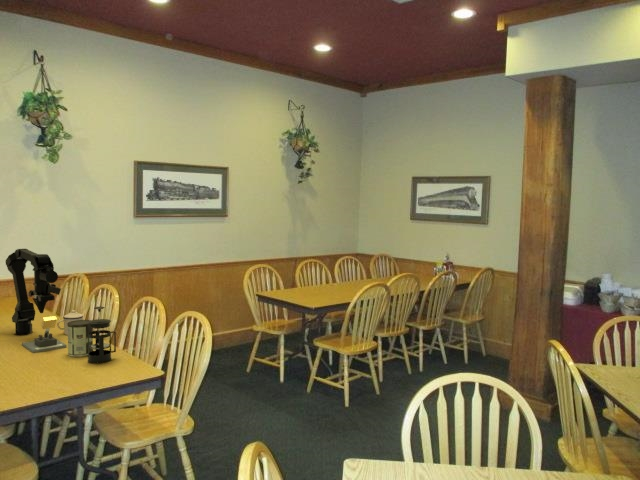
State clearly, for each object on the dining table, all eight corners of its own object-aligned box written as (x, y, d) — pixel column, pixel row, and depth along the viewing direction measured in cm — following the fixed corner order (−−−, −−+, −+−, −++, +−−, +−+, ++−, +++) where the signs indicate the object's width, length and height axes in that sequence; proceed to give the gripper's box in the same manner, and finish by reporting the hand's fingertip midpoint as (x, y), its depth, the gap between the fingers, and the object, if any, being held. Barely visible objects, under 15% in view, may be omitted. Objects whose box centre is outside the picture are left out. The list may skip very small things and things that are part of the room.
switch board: (22, 345, 246) (21, 332, 245) (54, 340, 256) (54, 328, 255) (33, 353, 234) (33, 339, 234) (66, 347, 244) (66, 334, 244)
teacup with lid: (82, 330, 276) (81, 308, 275) (84, 334, 268) (84, 311, 267) (56, 332, 270) (56, 310, 269) (58, 337, 262) (57, 313, 261)
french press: (87, 365, 220) (87, 310, 218) (84, 359, 227) (83, 306, 226) (117, 361, 226) (117, 307, 224) (113, 355, 234) (113, 303, 232)
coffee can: (87, 349, 243) (86, 318, 242) (97, 353, 236) (96, 322, 235) (63, 353, 235) (63, 321, 234) (73, 358, 228) (73, 326, 227)
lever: (39, 335, 242) (43, 317, 237) (51, 334, 245) (55, 316, 240) (40, 338, 241) (44, 320, 236) (52, 337, 244) (56, 319, 239)
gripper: (65, 281, 253) (66, 314, 254) (52, 277, 266) (52, 307, 268) (40, 283, 245) (41, 317, 247) (27, 279, 259) (28, 310, 260)
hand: (41, 313), depth 255 cm, fingers closed
